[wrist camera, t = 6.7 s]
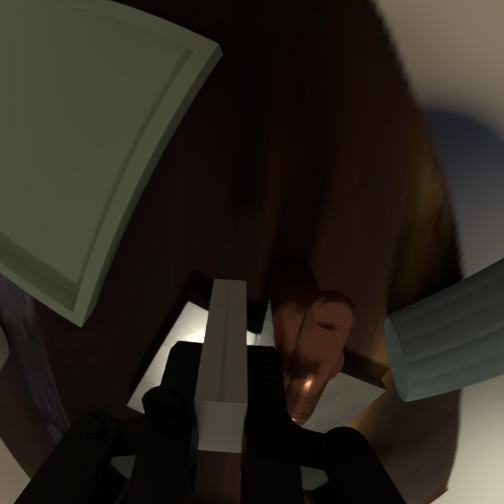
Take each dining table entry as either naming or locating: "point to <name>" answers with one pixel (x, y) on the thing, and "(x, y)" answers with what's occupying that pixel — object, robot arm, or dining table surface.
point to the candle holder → (3, 348)
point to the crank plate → (193, 330)
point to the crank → (304, 332)
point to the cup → (449, 337)
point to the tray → (84, 135)
